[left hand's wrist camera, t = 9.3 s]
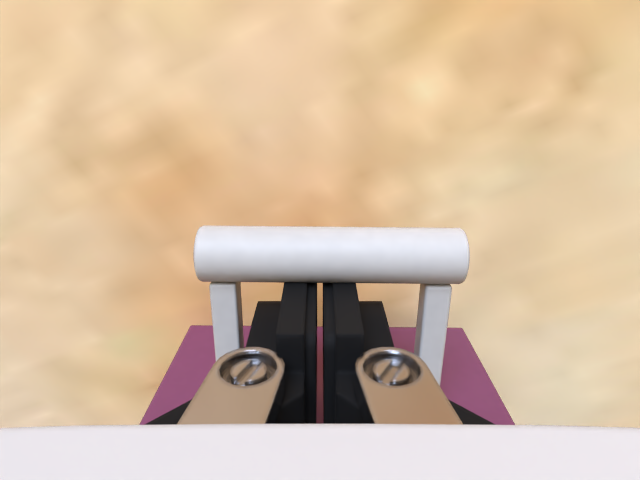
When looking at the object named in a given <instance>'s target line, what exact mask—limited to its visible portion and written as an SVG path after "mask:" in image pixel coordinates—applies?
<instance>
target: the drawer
mask: <svg viewBox="0 0 640 480" xmlns="http://www.w3.org/2000/svg"><path fill="white" fill-rule="evenodd" d="M469 259H470V253H469V244H468V239H467V236H466V233H465V232H464V230H462V229H460V228H400V227H288V226H202V227H200V228H199V229H198V232H197V234H196V238H195V243H194V267H195V271H196V275H197V277H198V279H199V280H200V281H203V282H211V284H210V286H209V287H210V299H211V310H212V322H213V326H198V325H192V326H190V328H189V330H188V332H187V334H186V336H185V338H184V340H183V342H182V344H181V345H180V347H179V349H178V351H177V353H176V355H175V357H174V359H173V361H172V363H171V365H170V367H169V369H168V371H167V372H166V374H165V376H164V378H163V380H162V382H161V384H160V386H159V388H158V390H157V392H156V394H155V396H154V398H153V399H152V401H151V403H150V405H149V407H148V409H147V411H146V413H145V415H144V417H143V419H142V421H141V423H140V425H144V424H146V423H148V422H150V421H152V420H154V419H156V418H158V417H159V416H161V415H163V414H165V413H167V412H169V411H171V410H173V409H174V408H176V407H178V406H180V405H182V404H184V403H186V402H187V401H189V400H191V399H193V397H194V395H195V394H196V392H197V391H198V389H199V387H200V386H201V384H202V382H203V381H204V379H205V378H206V376H207V374H208V373H209V371H210V369H211V368H212V366H213V365H214V363H215V362H216V361H217V360H218V359H219V358H220V357H221V356H223V355H225V354H226V353H228V352H230V351H233V350H236V349H240V348H245V347H246V343H247V340H248V336H249V332H250V329H251V326H243V320H242V303H241V286H240V282H307V283H415V284H420V293H419V304H418V315H417V325H416V328H412V327H389V329H390V333H391V336H392V340H393V344H394V347H395V348H400V349H404V350H407V351H410V352H412V353H414V354H415V355H417V356H419V357H420V358H421V359H422V360H423V361H424V362H425V363H426V365H427V366H428V368H429V369H430V371H431V373H432V374H433V376H434V378H435V379H436V381H437V382H438V384H439V386H440V387H441V389H442V391H443V392H444V394H445V395H446V397H447V399H449V400H451V401H452V402H454V403H456V404H458V405H460V406H462V407H464V408H466V409H467V410H469V411H471V412H473V413H475V414H477V415H479V416H480V417H482V418H484V419H486V420H488V421H490V422H492V423H494V424H495V425H515V424H514V422H513V420H512V418H511V417H510V415H509V413H508V411H507V409H506V407H505V406H504V404H503V402H502V400H501V398H500V396H499V395H498V393H497V391H496V389H495V387H494V385H493V384H492V382H491V380H490V378H489V376H488V374H487V373H486V371H485V369H484V367H483V365H482V363H481V362H480V360H479V358H478V356H477V354H476V352H475V351H474V349H473V347H472V345H471V343H470V341H469V340H468V338H467V336H466V334H465V332H464V330H463V329H462V328H447V324H448V316H449V308H450V300H451V292H452V287H451V285H450V284H460V283H462V282H464V280H465V279H466V276H467V273H468V269H469ZM316 424H323V327H317V416H316Z"/></svg>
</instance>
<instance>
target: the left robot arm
mask: <svg viewBox="0 0 640 480" xmlns="http://www.w3.org/2000/svg"><path fill="white" fill-rule="evenodd" d="M316 416H317V283H307V282H284V288H283V294H282V300H281V301H258V303H257V307H256V310H255V314H254V318H253V321H252V325H251V329H250V332H249V336H248V340H247V343H246V347H245V348H240V349H236V350H233V351H230V352H228V353H226V354H225V355H223V356H221V357H220V358H219V359H218V360H217V361H216V362H215V363H214V365H213V366H212V368H211V369H210V371H209V373H208V374H207V376H206V378H205V379H204V381H203V382H202V384H201V386H200V387H199V389H198V391H197V392H196V394H195V395H194V397H193V399H191V400H189V401H187V402H186V403H184V404H182V405H180V406H178V407H176V408H174V409H173V410H171V411H169V412H167V413H165V414H163V415H161V416H159V417H158V418H156V419H154V420H152V421H150V422H148V423H146V424H144V425H89V426H49V427H19V428H0V480H640V428H625V427H589V426H554V425H495V424H494V423H492V422H490V421H488V420H486V419H484V418H482V417H480V416H479V415H477V414H475V413H473V412H471V411H469V410H467V409H466V408H464V407H462V406H460V405H458V404H456V403H454V402H452V401H451V400H449V399H447V397H446V395H445V394H444V392H443V391H442V389H441V387H440V386H439V384H438V382H437V381H436V379H435V378H434V376H433V374H432V373H431V371H430V369H429V368H428V366H427V365H426V363H425V362H424V361H423V360H422V359H421V358H420V357H419V356H417V355H415V354H414V353H412V352H410V351H407V350H404V349H400V348H395V347H394V344H393V340H392V336H391V333H390V329H389V325H388V322H387V318H386V314H385V311H384V307H383V304H382V301H359V300H358V294H357V289H356V283H323V424H316Z"/></svg>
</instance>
